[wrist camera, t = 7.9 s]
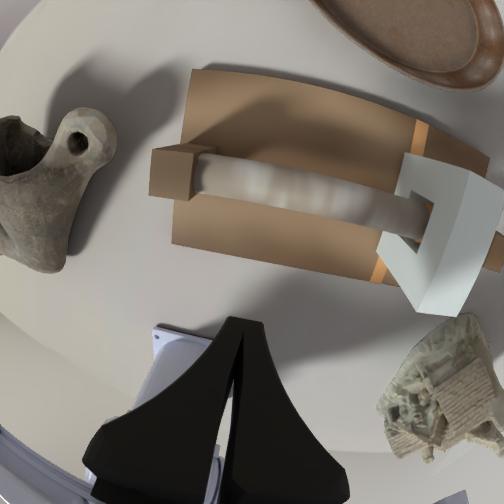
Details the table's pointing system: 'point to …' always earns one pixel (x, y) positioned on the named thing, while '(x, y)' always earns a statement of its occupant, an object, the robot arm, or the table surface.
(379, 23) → the plant saucer
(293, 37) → the table surface
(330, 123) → the rod stand
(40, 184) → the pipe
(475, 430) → the ceramic cottage
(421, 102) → the table surface
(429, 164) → the collar
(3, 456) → the robot arm
